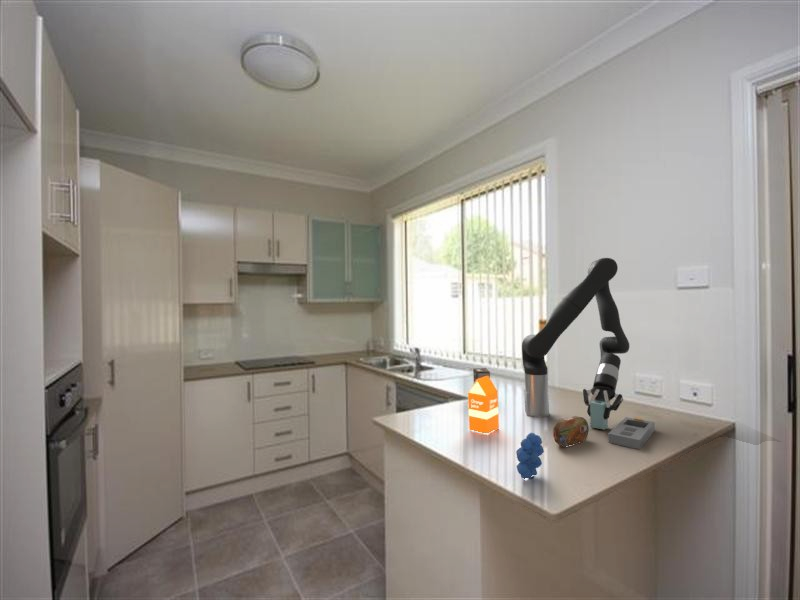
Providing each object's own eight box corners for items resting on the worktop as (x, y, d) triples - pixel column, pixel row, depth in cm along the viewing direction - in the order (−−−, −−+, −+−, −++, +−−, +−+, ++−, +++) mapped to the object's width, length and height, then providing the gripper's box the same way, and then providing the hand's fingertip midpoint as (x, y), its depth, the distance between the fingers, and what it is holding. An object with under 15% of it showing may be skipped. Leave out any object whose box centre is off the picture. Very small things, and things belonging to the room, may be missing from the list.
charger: (590, 426, 135) (589, 402, 135) (594, 423, 138) (594, 399, 138) (604, 429, 132) (603, 404, 132) (607, 426, 135) (607, 401, 135)
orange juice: (469, 431, 137) (467, 378, 137) (481, 425, 143) (479, 374, 143) (487, 436, 131) (485, 380, 132) (499, 429, 138) (497, 376, 138)
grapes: (527, 465, 108) (526, 425, 108) (549, 473, 102) (548, 430, 102) (505, 479, 100) (503, 435, 100) (528, 488, 95) (526, 442, 95)
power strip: (640, 449, 116) (639, 438, 116) (608, 442, 122) (608, 431, 122) (654, 430, 131) (654, 420, 131) (626, 424, 137) (625, 415, 137)
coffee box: (474, 401, 176) (472, 368, 176) (487, 400, 176) (486, 367, 176) (477, 406, 167) (476, 371, 167) (491, 406, 167) (490, 371, 167)
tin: (559, 450, 118) (558, 423, 118) (551, 446, 121) (550, 421, 121) (590, 440, 125) (589, 415, 125) (581, 437, 127) (580, 413, 127)
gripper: (584, 370, 145) (574, 407, 137) (625, 374, 135) (617, 415, 127) (589, 381, 149) (579, 418, 141) (629, 386, 139) (621, 426, 130)
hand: (597, 416), depth 134 cm, fingers closed on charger, 4 cm apart
